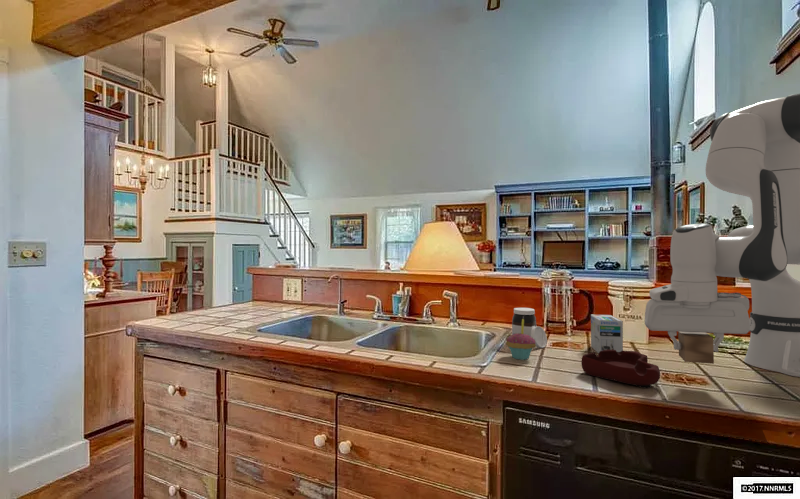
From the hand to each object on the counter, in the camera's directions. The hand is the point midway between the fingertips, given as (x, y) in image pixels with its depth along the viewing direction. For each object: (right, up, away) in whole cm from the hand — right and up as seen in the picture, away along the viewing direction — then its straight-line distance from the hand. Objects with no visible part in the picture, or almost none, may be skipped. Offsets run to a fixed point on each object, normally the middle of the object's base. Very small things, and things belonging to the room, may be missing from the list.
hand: (695, 350), depth 95 cm
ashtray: (-15, -9, +7) cm, 19 cm away
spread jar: (-27, -8, +39) cm, 48 cm away
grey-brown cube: (0, -2, 0) cm, 2 cm away
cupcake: (-34, -8, +24) cm, 43 cm away
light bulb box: (-6, -8, +30) cm, 32 cm away
